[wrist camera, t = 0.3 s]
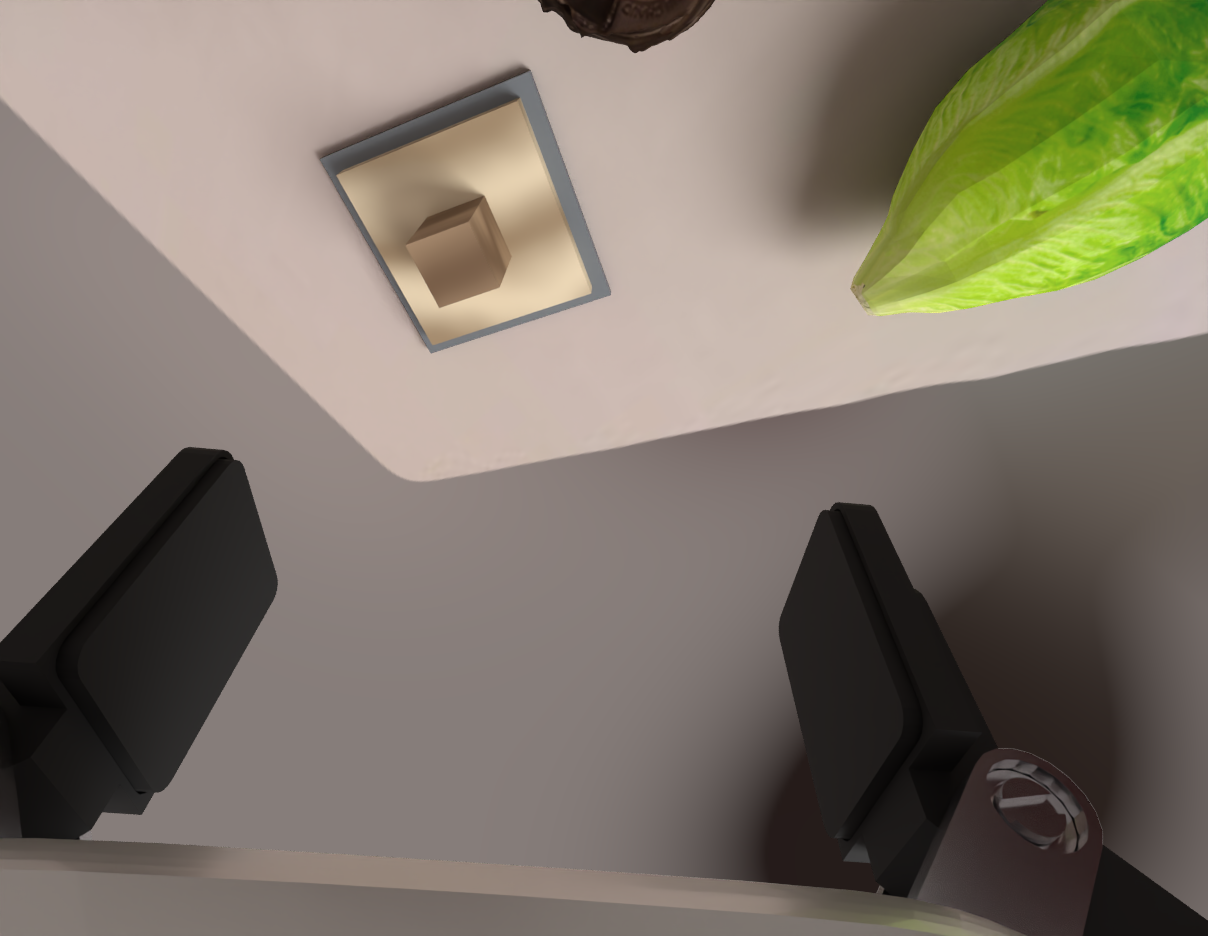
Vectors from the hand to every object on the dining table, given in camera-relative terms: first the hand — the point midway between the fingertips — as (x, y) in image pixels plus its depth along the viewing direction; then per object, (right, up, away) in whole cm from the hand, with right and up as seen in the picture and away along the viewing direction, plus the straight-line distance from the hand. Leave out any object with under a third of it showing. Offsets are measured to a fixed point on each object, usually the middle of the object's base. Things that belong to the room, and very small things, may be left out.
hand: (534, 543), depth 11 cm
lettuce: (+24, +20, +29) cm, 42 cm away
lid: (-7, +17, +32) cm, 36 cm away
